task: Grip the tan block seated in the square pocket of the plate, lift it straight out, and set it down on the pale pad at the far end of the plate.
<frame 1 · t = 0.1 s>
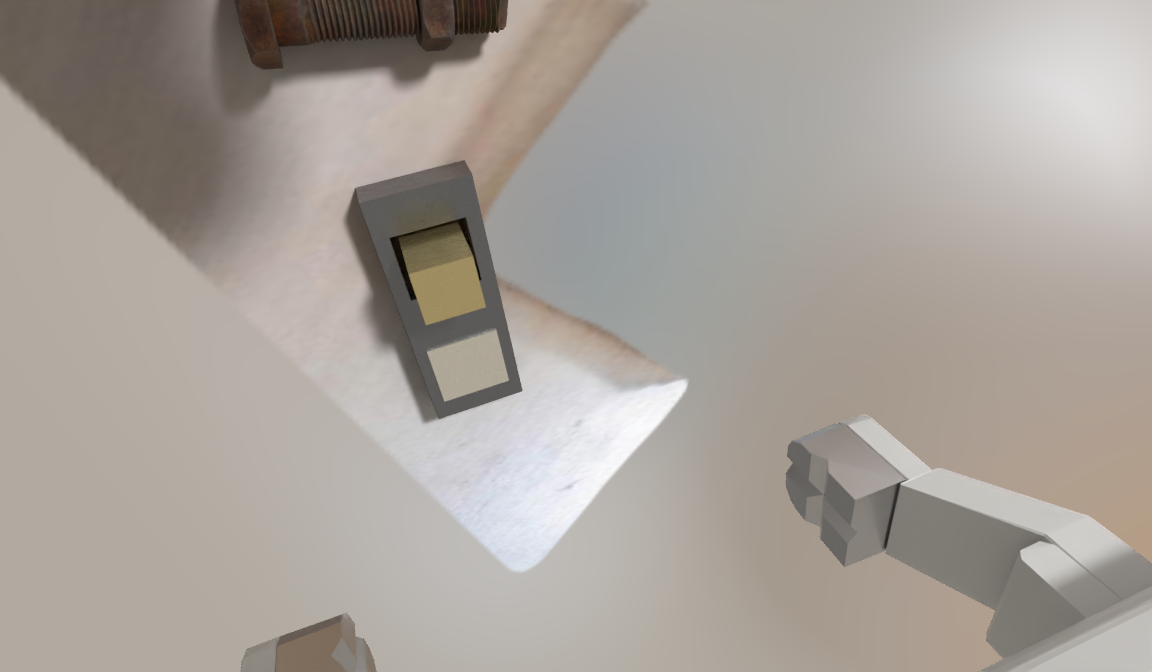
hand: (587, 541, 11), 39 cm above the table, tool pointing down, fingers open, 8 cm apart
plate: (447, 294, 53), on the table
tan block: (431, 243, 50), resting in plate
bolt: (375, 2, 39), on the table
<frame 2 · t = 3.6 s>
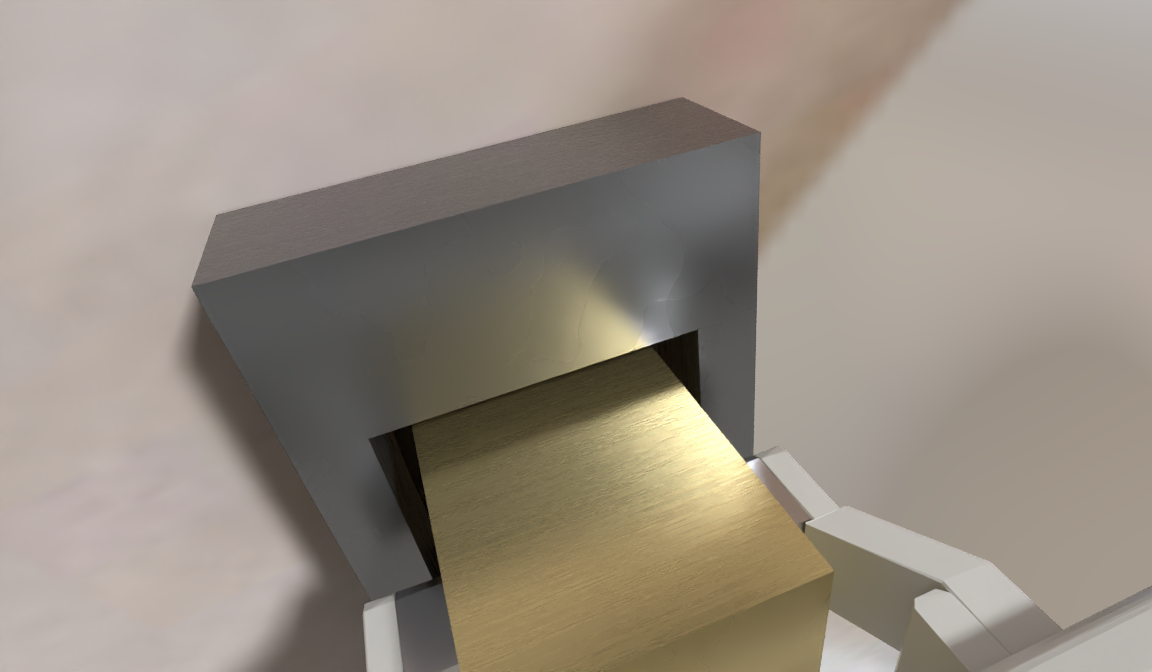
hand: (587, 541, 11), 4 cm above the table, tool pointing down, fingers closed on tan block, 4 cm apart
plate: (566, 555, 17), on the table
tan block: (531, 416, 14), resting in plate, touching gripper
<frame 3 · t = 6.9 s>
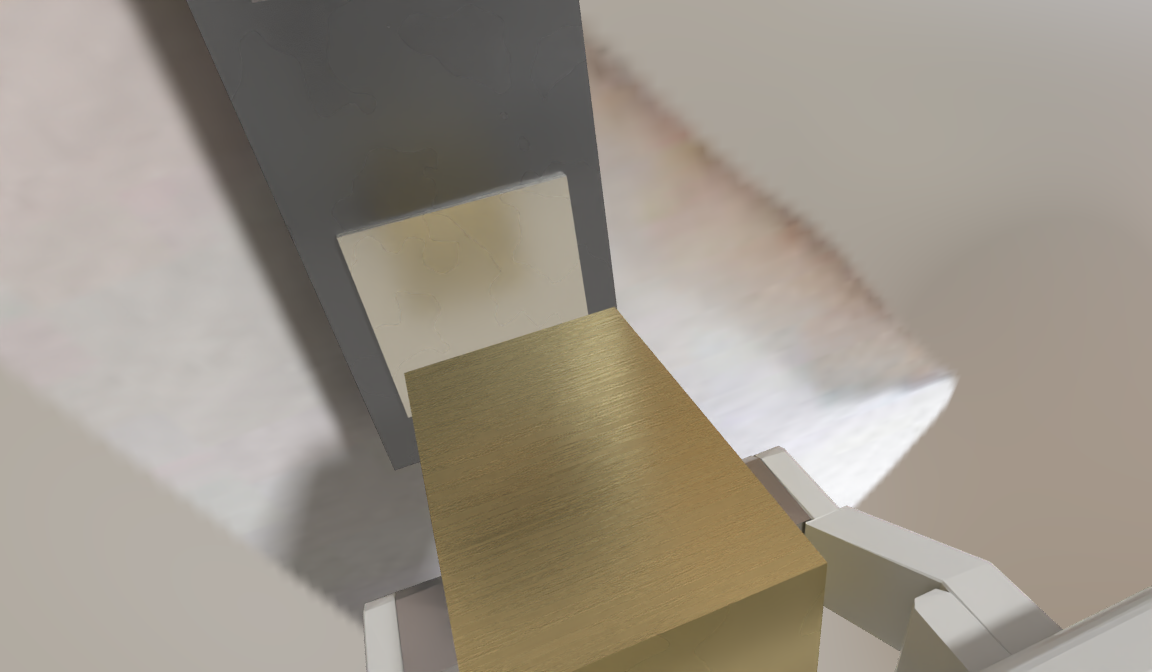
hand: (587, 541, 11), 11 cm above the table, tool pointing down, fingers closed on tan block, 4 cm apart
plate: (408, 63, 17), on the table
tan block: (533, 421, 14), point 8 cm above the table, touching gripper
when the fingers open (7 cm above the table, at t = 8.0 s): tan block stays where it is, resting on plate.
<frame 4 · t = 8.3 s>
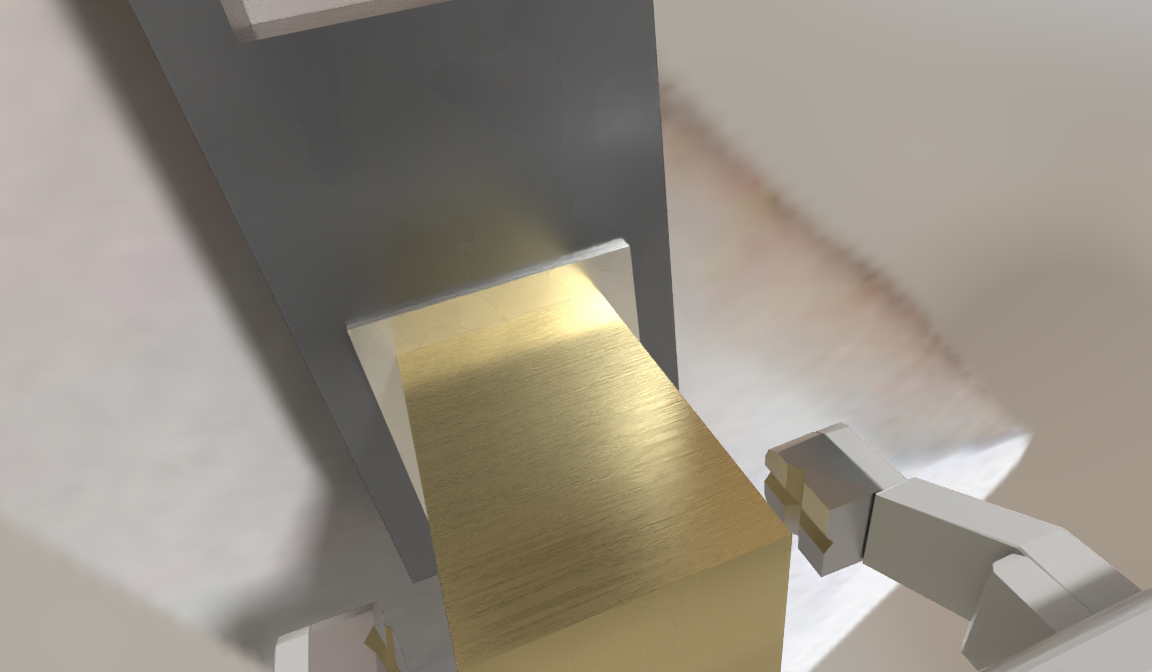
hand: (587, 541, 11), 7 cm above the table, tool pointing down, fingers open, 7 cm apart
plate: (435, 108, 13), on the table
tan block: (521, 403, 15), point 3 cm above the table, touching plate
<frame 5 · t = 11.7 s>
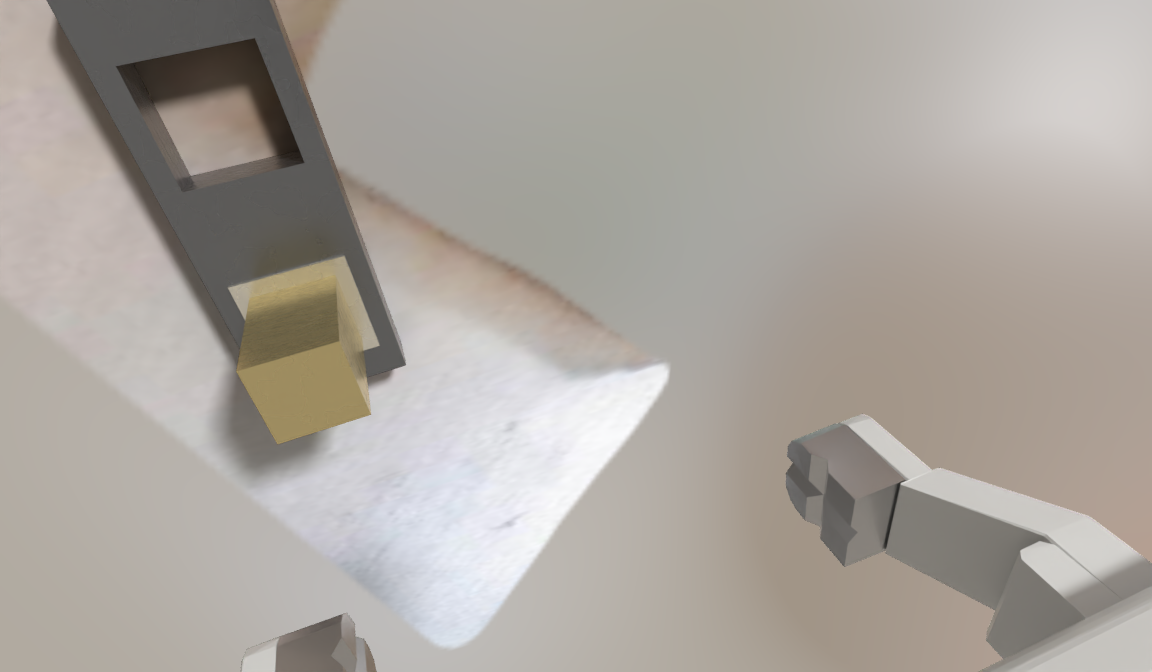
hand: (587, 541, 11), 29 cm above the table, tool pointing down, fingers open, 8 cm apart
plate: (266, 201, 34), on the table
tan block: (308, 321, 35), point 3 cm above the table, touching plate
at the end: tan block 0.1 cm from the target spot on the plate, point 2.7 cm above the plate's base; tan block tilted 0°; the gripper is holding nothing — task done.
